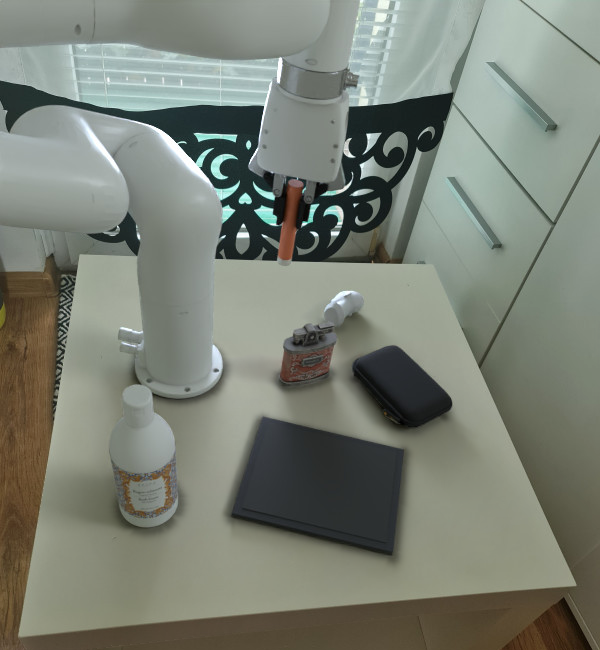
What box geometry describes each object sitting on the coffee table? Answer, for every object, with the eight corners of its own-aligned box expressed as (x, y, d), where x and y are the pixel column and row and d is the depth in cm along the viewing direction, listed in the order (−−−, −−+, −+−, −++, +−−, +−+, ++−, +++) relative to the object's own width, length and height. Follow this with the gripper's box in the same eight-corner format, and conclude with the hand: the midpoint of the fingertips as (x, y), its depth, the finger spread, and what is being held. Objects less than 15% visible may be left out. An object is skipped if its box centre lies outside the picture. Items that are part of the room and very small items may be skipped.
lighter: (283, 390, 90) (291, 340, 82) (275, 374, 92) (281, 324, 84) (332, 378, 93) (344, 329, 85) (323, 363, 94) (334, 313, 87)
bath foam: (120, 533, 72) (100, 425, 57) (118, 483, 76) (98, 371, 61) (181, 525, 73) (176, 418, 58) (175, 477, 78) (169, 366, 63)
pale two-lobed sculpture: (345, 304, 106) (369, 312, 103) (315, 323, 102) (338, 331, 99) (344, 281, 104) (368, 288, 101) (312, 300, 99) (337, 307, 96)
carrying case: (338, 373, 93) (401, 440, 86) (342, 359, 91) (406, 427, 84) (391, 350, 98) (454, 412, 91) (396, 336, 96) (461, 399, 89)
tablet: (231, 516, 75) (231, 512, 74) (262, 419, 86) (262, 415, 85) (391, 555, 74) (393, 551, 73) (402, 452, 85) (404, 448, 84)
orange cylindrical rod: (275, 264, 86) (286, 185, 77) (278, 256, 87) (289, 177, 78) (289, 267, 86) (302, 188, 77) (292, 259, 87) (304, 181, 78)
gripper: (383, 79, 71) (350, 220, 84) (248, 51, 71) (237, 196, 84) (379, 105, 66) (345, 250, 79) (234, 74, 66) (224, 224, 79)
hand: (290, 221), depth 82 cm, fingers closed on orange cylindrical rod, 2 cm apart
